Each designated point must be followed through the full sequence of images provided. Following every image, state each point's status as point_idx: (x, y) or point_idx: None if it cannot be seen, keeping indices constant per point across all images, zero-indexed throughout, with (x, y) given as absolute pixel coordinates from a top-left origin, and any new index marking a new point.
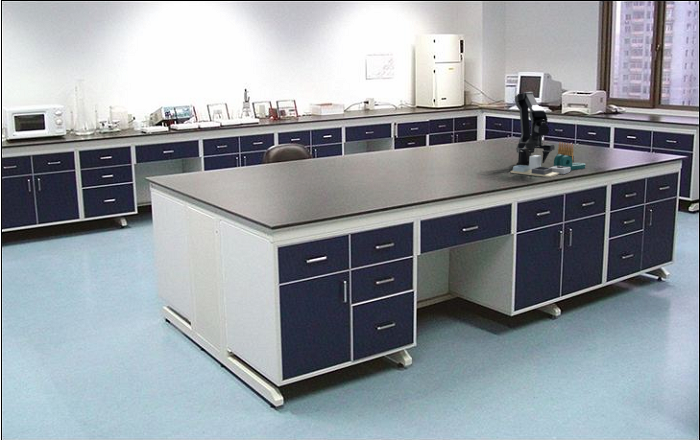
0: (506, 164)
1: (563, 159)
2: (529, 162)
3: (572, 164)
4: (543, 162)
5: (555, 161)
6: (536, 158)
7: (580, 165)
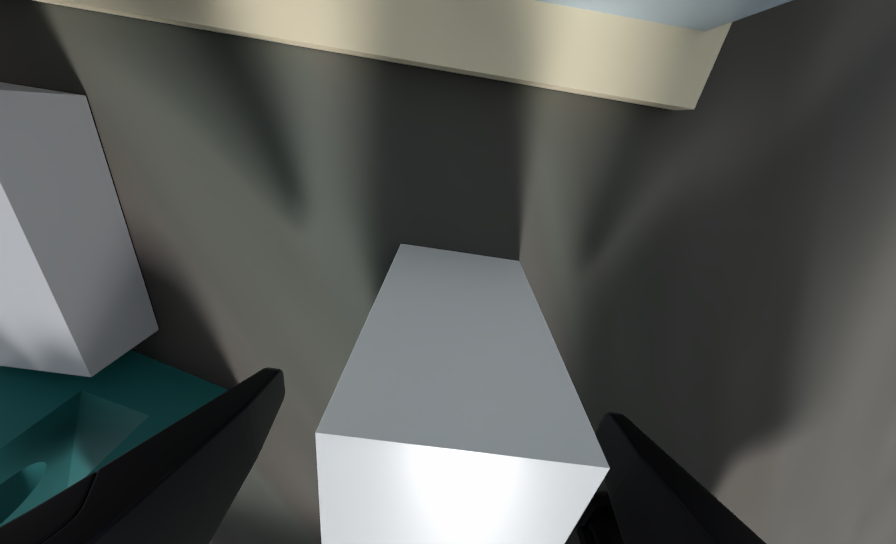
0: (846, 450)
1: None
2: (540, 323)
3: None
4: (253, 382)
5: None
6: (336, 389)
7: None
